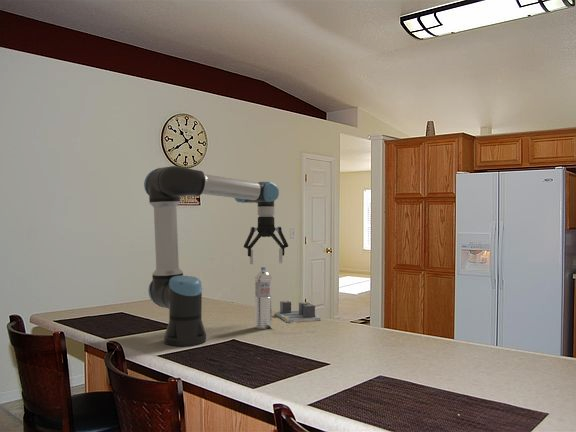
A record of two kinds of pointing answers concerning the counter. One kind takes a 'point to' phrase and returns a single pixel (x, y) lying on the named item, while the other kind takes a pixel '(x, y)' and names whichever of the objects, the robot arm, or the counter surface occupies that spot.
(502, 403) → the counter surface
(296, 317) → the switch bank
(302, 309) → the tab mid
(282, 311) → the tab far
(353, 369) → the counter surface
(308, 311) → the dark grey rectangular block
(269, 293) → the water bottle
